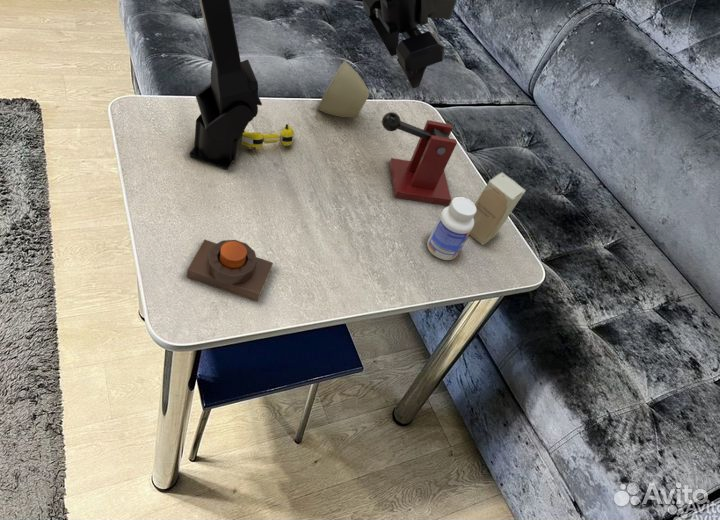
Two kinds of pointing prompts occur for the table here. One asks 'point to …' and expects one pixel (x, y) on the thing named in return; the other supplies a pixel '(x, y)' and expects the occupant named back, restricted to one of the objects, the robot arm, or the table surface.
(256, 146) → the yellow striped curved toy
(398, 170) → the lever bracket
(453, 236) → the pill bottle
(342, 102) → the bowl
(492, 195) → the box
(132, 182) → the table surface
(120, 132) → the table surface
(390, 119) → the black lever handle
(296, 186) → the table surface
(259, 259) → the button block
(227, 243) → the button
